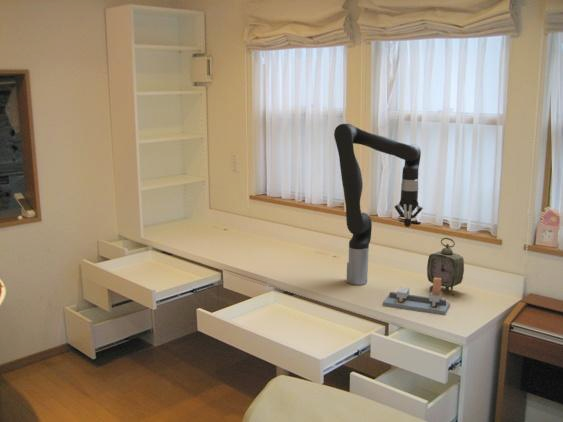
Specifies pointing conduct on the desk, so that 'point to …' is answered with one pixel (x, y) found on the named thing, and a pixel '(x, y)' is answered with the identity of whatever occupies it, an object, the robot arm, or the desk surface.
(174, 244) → the desk surface
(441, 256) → the tabletop clock
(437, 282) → the sliding leg
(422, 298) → the hole plate with beam
